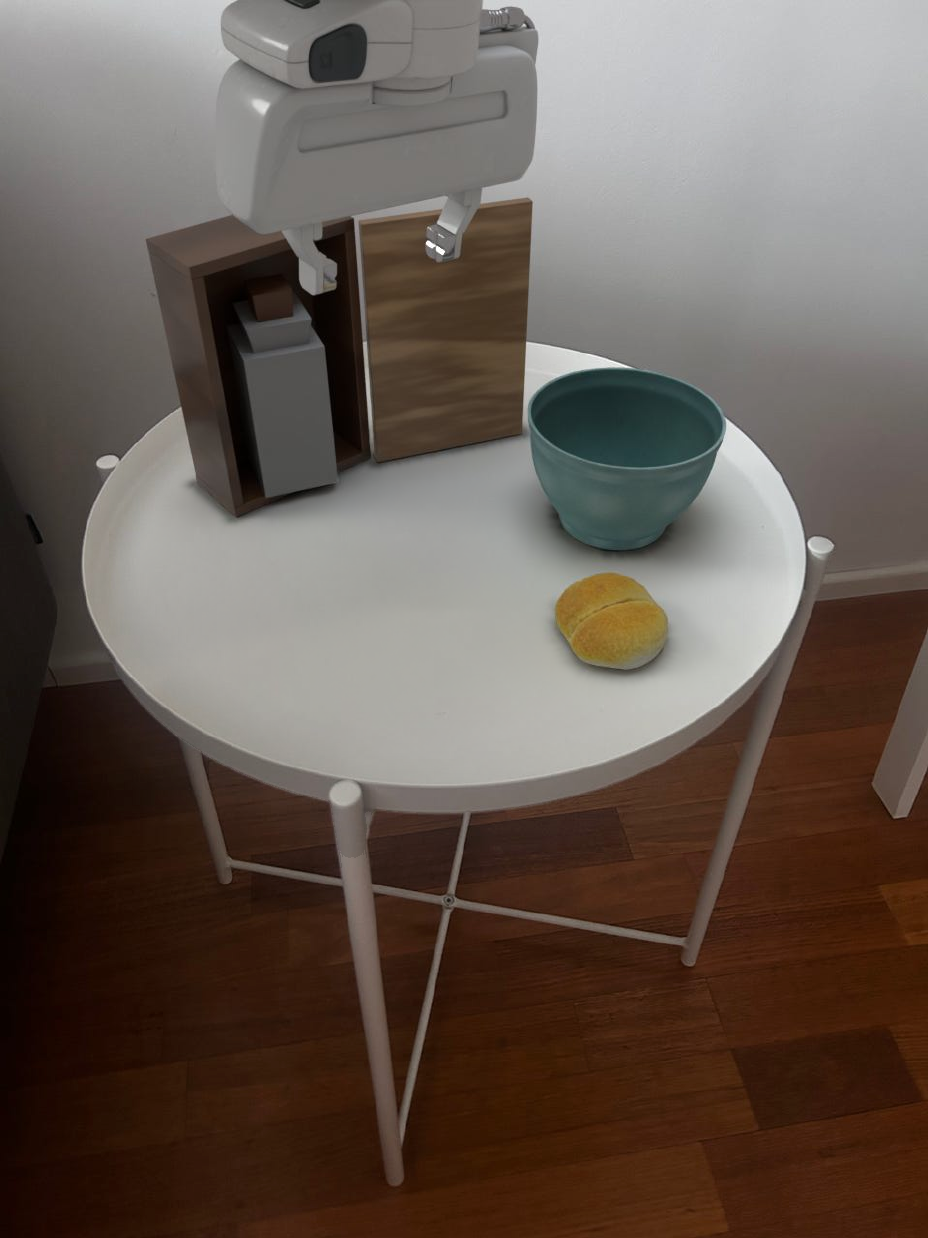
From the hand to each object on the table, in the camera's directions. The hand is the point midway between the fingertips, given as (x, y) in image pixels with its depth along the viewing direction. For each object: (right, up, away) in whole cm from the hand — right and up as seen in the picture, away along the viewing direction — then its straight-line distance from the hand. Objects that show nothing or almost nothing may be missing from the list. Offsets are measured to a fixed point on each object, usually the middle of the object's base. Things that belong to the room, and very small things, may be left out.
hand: (382, 272), depth 62 cm
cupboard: (-12, -7, +34) cm, 37 cm away
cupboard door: (+3, -3, +39) cm, 39 cm away
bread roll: (+16, -22, +17) cm, 33 cm away
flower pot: (+18, -12, +28) cm, 36 cm away
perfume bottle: (-11, -7, +32) cm, 35 cm away
